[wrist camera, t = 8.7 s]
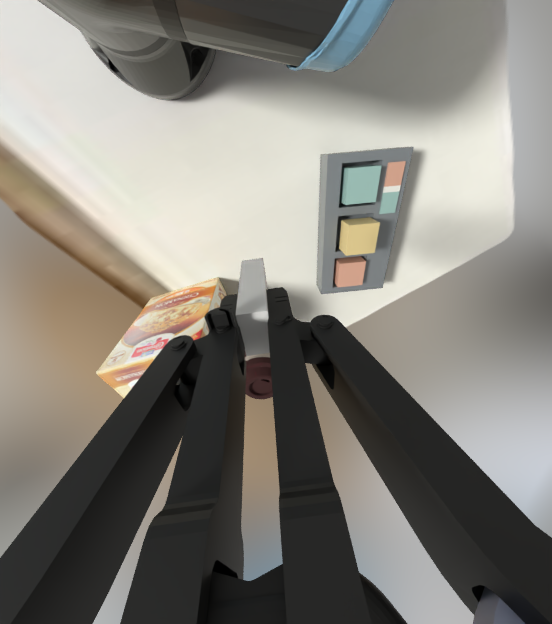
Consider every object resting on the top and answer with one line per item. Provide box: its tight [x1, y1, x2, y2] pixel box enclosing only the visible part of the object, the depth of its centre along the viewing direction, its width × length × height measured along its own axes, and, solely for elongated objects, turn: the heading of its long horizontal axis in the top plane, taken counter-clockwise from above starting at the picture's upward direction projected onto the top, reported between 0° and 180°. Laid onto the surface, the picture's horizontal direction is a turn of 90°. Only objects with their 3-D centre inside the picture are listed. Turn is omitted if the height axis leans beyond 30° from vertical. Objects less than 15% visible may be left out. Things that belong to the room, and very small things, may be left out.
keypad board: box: [317, 147, 413, 294], centre depth 39 cm, size 22×12×4 cm, turn 4°
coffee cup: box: [245, 352, 273, 399], centre depth 47 cm, size 10×10×15 cm
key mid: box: [339, 217, 380, 256], centre depth 36 cm, size 5×5×4 cm
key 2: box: [339, 165, 382, 205], centre depth 34 cm, size 5×5×4 cm
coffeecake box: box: [96, 277, 227, 398], centre depth 39 cm, size 15×7×20 cm, turn 106°
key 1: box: [333, 256, 366, 287], centre depth 42 cm, size 5×5×4 cm
